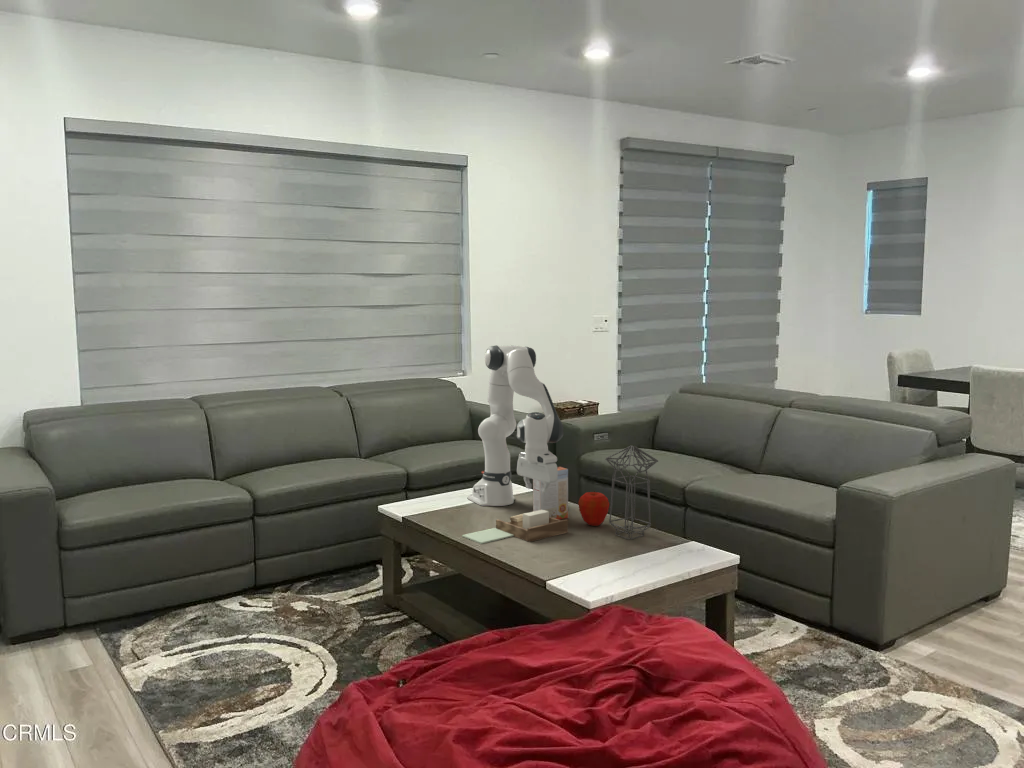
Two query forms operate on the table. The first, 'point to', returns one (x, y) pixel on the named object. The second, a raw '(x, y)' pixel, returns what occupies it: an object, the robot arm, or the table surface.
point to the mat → (487, 535)
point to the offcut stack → (517, 520)
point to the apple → (593, 507)
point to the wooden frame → (535, 529)
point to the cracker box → (552, 496)
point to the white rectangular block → (535, 518)
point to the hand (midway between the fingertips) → (536, 490)
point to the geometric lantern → (637, 450)
